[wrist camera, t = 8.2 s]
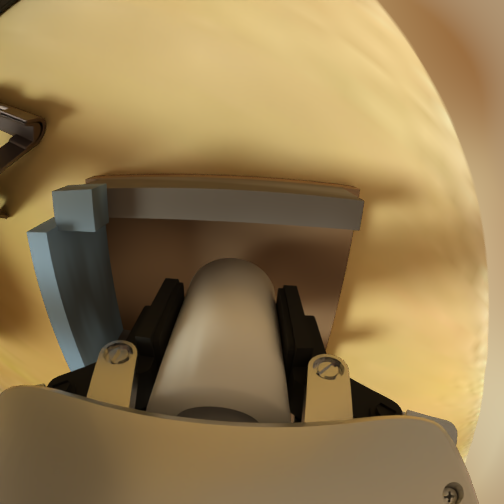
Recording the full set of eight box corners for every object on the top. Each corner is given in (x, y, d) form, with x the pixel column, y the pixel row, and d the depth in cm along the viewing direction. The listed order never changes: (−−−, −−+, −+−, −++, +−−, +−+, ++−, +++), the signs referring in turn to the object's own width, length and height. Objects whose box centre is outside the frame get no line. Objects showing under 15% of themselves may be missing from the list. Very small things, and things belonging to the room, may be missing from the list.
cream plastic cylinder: (269, 333, 14) (281, 483, 6) (190, 327, 14) (153, 473, 6) (279, 261, 12) (311, 424, 5) (187, 254, 12) (118, 407, 5)
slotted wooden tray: (297, 421, 21) (305, 477, 16) (141, 409, 21) (125, 462, 15) (353, 182, 14) (412, 212, 8) (93, 172, 13) (21, 197, 8)
